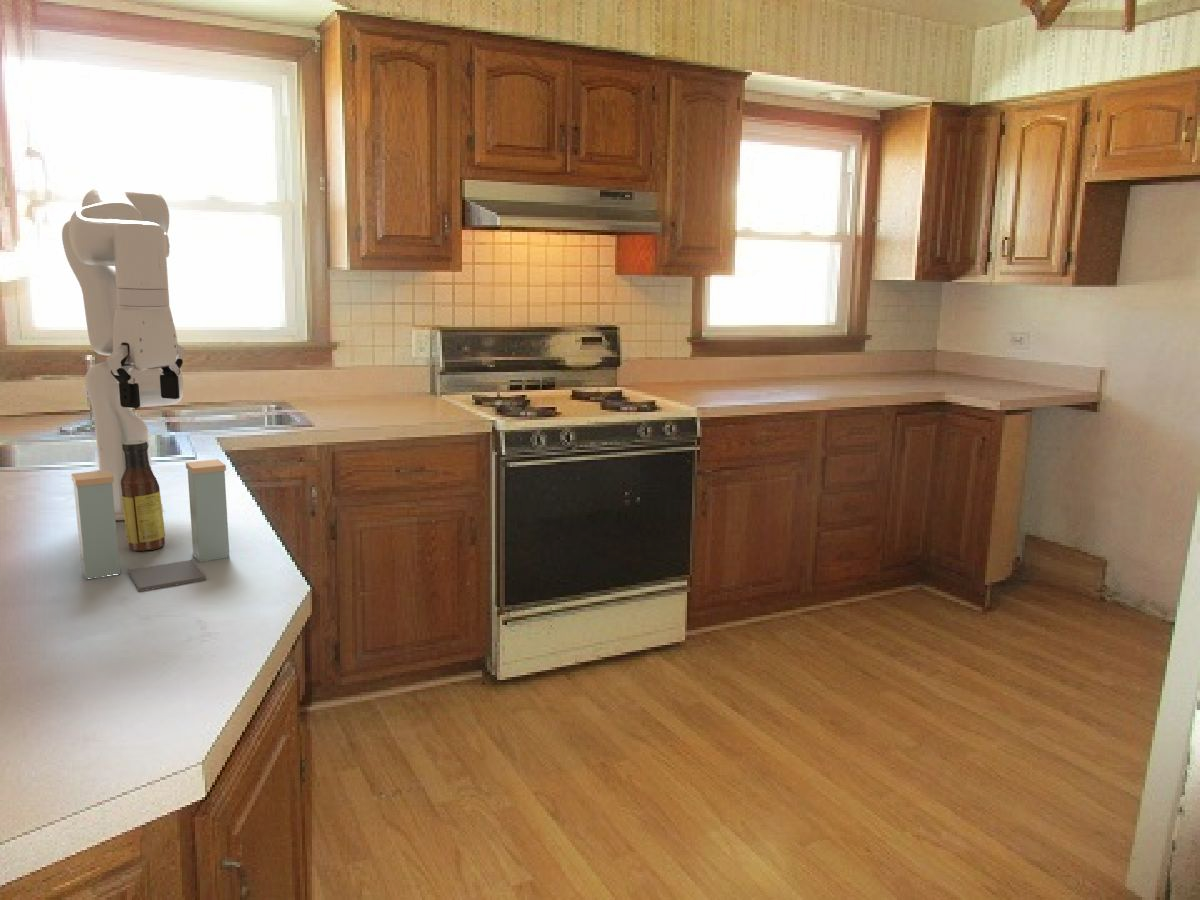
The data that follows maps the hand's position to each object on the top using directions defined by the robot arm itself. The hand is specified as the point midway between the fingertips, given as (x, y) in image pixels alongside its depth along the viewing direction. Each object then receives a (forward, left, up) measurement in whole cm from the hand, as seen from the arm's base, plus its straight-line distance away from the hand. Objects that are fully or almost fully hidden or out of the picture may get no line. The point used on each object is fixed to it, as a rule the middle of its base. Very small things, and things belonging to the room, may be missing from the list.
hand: (151, 402), depth 147 cm
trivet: (+7, -1, -29) cm, 29 cm away
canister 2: (0, +8, -29) cm, 30 cm away
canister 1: (0, -10, -29) cm, 30 cm away
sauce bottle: (-11, -1, -29) cm, 31 cm away
